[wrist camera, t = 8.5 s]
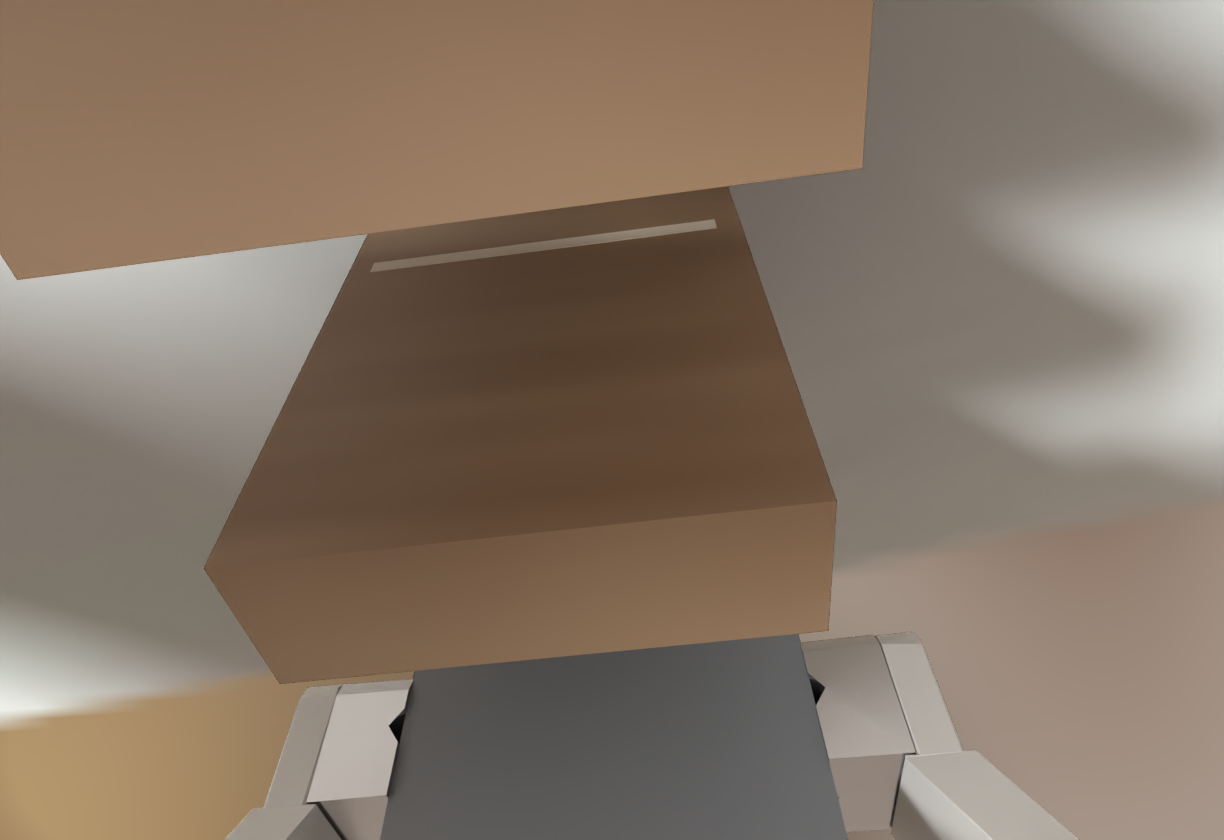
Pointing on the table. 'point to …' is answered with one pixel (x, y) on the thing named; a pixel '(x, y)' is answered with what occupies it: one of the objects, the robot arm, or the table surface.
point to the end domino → (617, 748)
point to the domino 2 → (535, 453)
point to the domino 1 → (397, 114)
